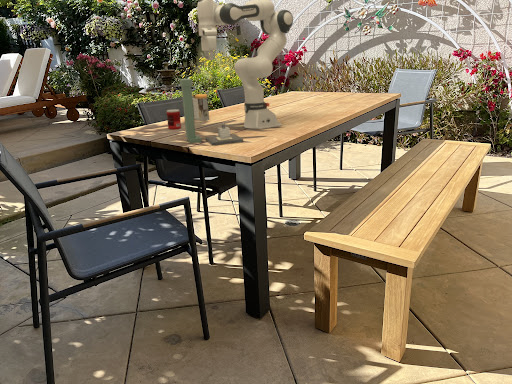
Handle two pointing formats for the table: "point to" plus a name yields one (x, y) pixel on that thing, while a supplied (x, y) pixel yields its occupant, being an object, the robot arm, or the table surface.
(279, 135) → the table surface
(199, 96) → the ram
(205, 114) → the coffee box
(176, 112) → the canned food
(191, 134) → the frame
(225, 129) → the housing
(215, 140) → the plate
